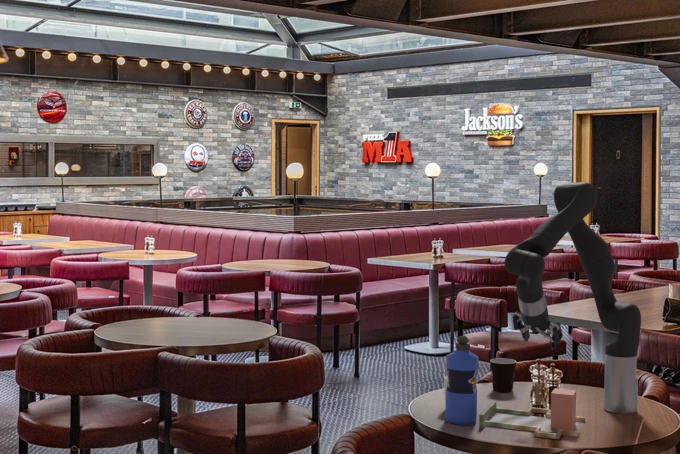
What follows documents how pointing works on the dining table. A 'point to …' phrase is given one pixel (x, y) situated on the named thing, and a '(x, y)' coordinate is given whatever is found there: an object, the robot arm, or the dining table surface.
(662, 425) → the dining table surface
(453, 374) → the water bottle
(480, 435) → the dining table surface
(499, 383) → the coffee mug
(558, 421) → the pink rectangular block
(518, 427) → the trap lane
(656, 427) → the dining table surface
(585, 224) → the robot arm
